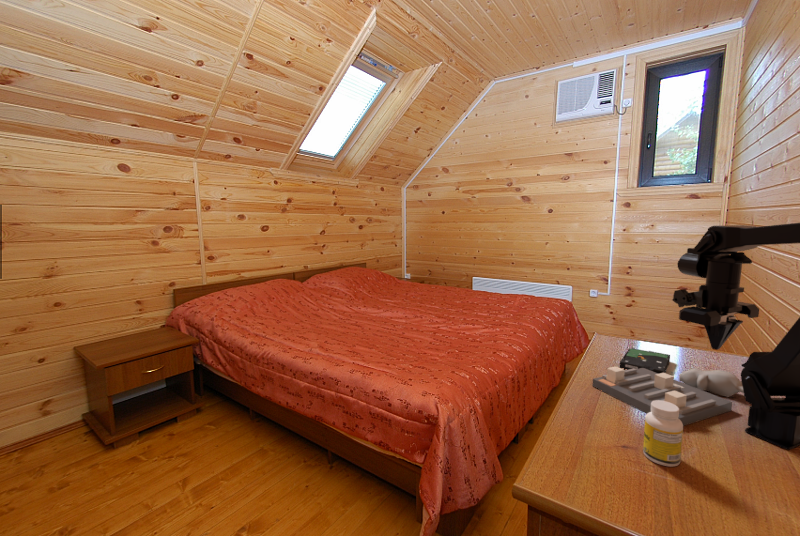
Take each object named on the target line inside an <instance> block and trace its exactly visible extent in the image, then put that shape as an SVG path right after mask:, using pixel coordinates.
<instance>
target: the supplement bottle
mask: <svg viewBox="0 0 800 536" xmlns="http://www.w3.org/2000/svg"><path fill="white" fill-rule="evenodd" d="M645 414H646V415H645V418H644V427H643V428H644V429H643V430H644V431H643V432H644V433H643V446H642V447H643V448H642V451H643V452H642V453H643V454H644V456H645V457H646V458H647V459H648V460H650V461H651V462H653V463H655V464H658V465H660V466H665V467H671V468H672V467H678V466H679V465H680V463H681V460H682V445H683V444H682V443H683V433H684V426H683V424H682V422H681V420H680V419H678V417H679V408H678V407H677V406H676V405H674V404H672V403H670V402H667V401H661V400H655V401H652V402H651V412H649V413H645Z"/></svg>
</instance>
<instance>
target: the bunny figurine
mask: <svg viewBox="0 0 800 536" xmlns="http://www.w3.org/2000/svg"><path fill="white" fill-rule="evenodd" d="M678 377H679V378H678V379H679V380H678V381H679V382H682V383H684V384H687V385H689V386H692V387H695V388H697V389H700V390H703V391H706V392H707V391H708V392H709V393H711V394H713V395H716V396H722V397H727V398H730V397H732V396H734V395H735V394H738V393H742V394H744V391H743V386H742V381H741V380H740V379H739V378H738V376H737V375H736V374H735V373H734V372H732V371H730V370H729V371H728V370H724V369H723V370H722V369H714V370H713V369H712V370H703V369H700V368H697V367H693V368H690V369H688V370H683V371H682V372H681V373H680V374H679V375H678Z"/></svg>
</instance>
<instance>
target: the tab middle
mask: <svg viewBox="0 0 800 536" xmlns="http://www.w3.org/2000/svg"><path fill="white" fill-rule="evenodd" d="M674 380H675V376H674V375H671V374H668V373H666V372H665V373H660V374H655V380H654V387H656V388H658V389H661V390H663V389H667V388H670V387H673V383H674Z"/></svg>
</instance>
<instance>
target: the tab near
mask: <svg viewBox="0 0 800 536" xmlns="http://www.w3.org/2000/svg"><path fill="white" fill-rule="evenodd" d="M686 398H687V395H685V394H682V393H680V392H677V391H675V390H674V391H670V392H667V393H665V401H667V402H670V403H672V404H674V405H676V406H677V407H678V408H679V409H680V408H683V407H686Z"/></svg>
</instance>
